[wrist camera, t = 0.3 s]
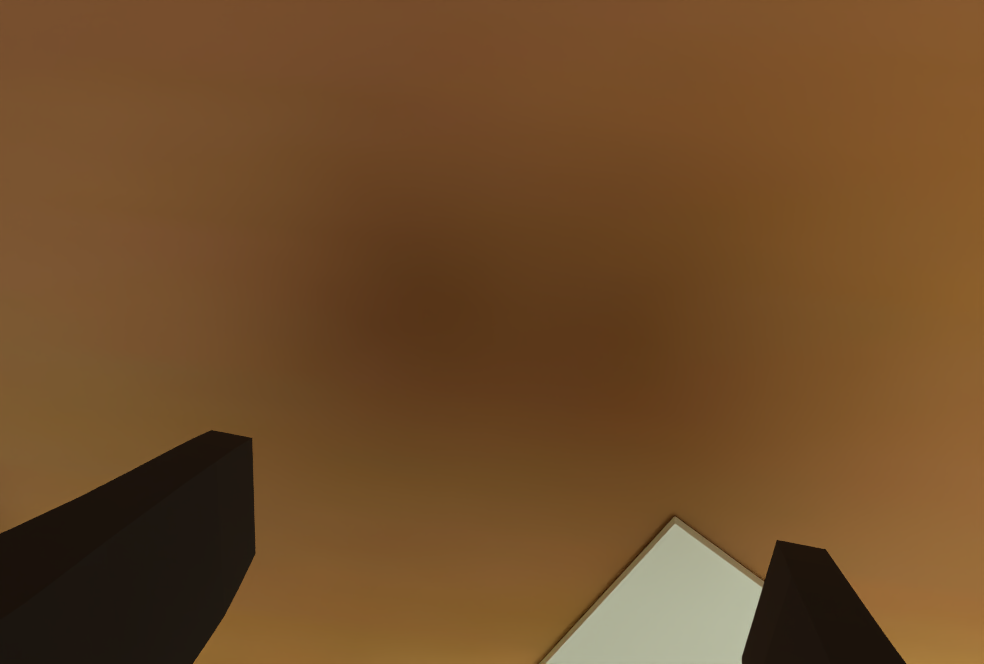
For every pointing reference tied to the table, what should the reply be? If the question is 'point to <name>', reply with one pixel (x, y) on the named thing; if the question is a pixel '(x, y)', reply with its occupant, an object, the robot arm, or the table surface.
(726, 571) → the sage tile
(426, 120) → the table surface
